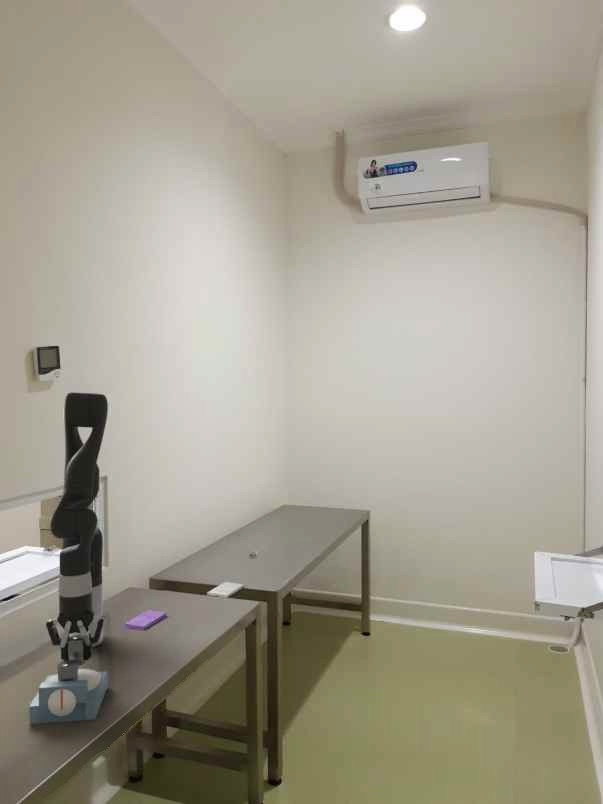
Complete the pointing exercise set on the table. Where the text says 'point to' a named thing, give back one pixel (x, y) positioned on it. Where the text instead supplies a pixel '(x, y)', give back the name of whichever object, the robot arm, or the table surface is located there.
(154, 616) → the sponges
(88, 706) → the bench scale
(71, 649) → the cylinder
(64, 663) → the cylinder
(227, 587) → the external hard drive
